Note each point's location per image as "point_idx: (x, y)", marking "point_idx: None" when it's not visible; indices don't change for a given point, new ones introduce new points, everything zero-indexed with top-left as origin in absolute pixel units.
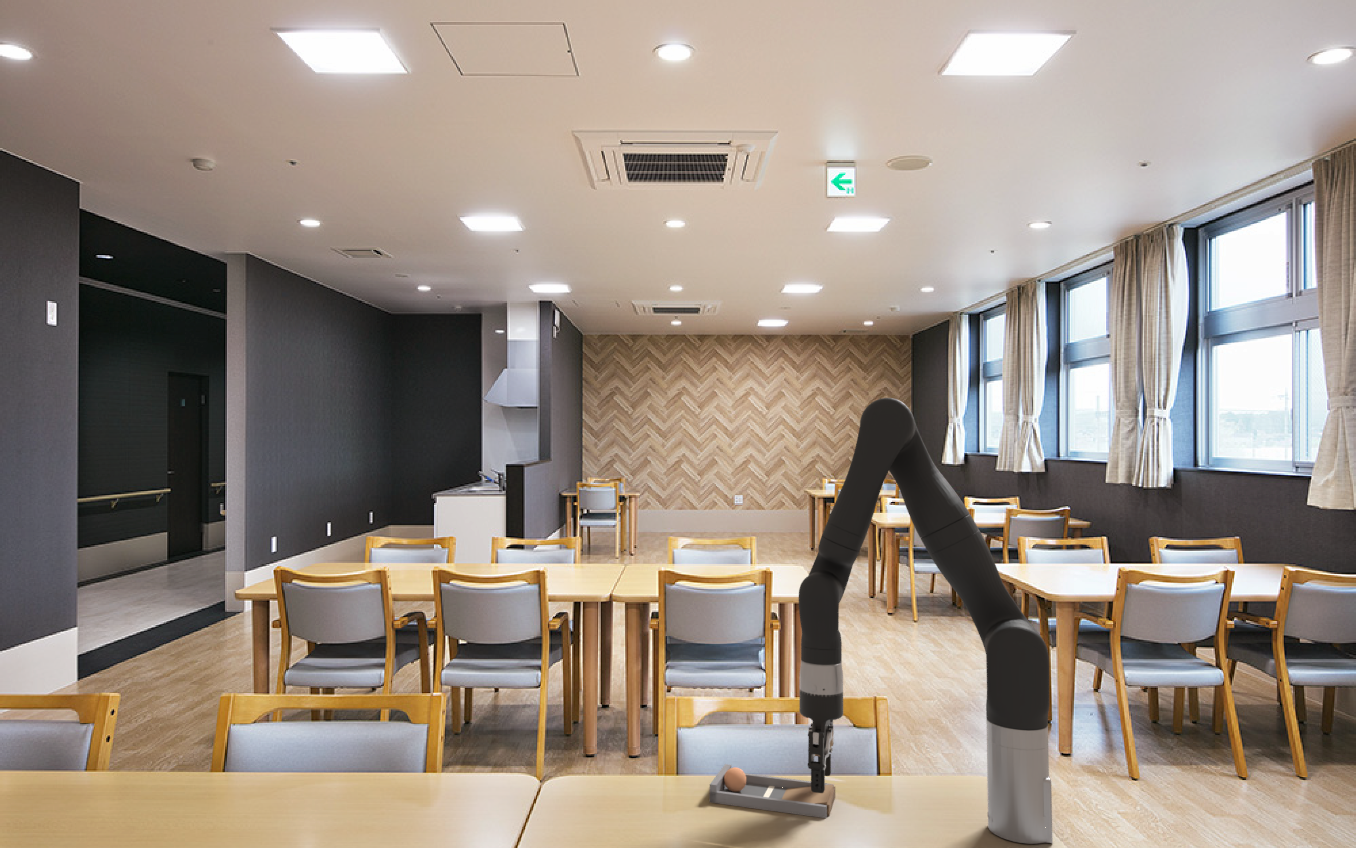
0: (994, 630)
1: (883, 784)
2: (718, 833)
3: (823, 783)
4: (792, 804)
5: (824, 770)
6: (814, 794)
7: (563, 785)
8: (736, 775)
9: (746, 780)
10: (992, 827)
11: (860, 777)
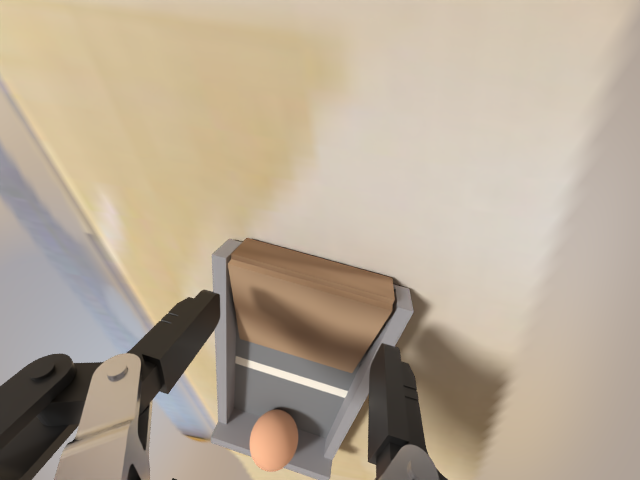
0: None
1: (54, 38)
2: (468, 456)
3: (402, 380)
4: None
5: (427, 454)
6: (302, 315)
7: None
8: (286, 460)
9: (232, 395)
10: None
11: (46, 129)
